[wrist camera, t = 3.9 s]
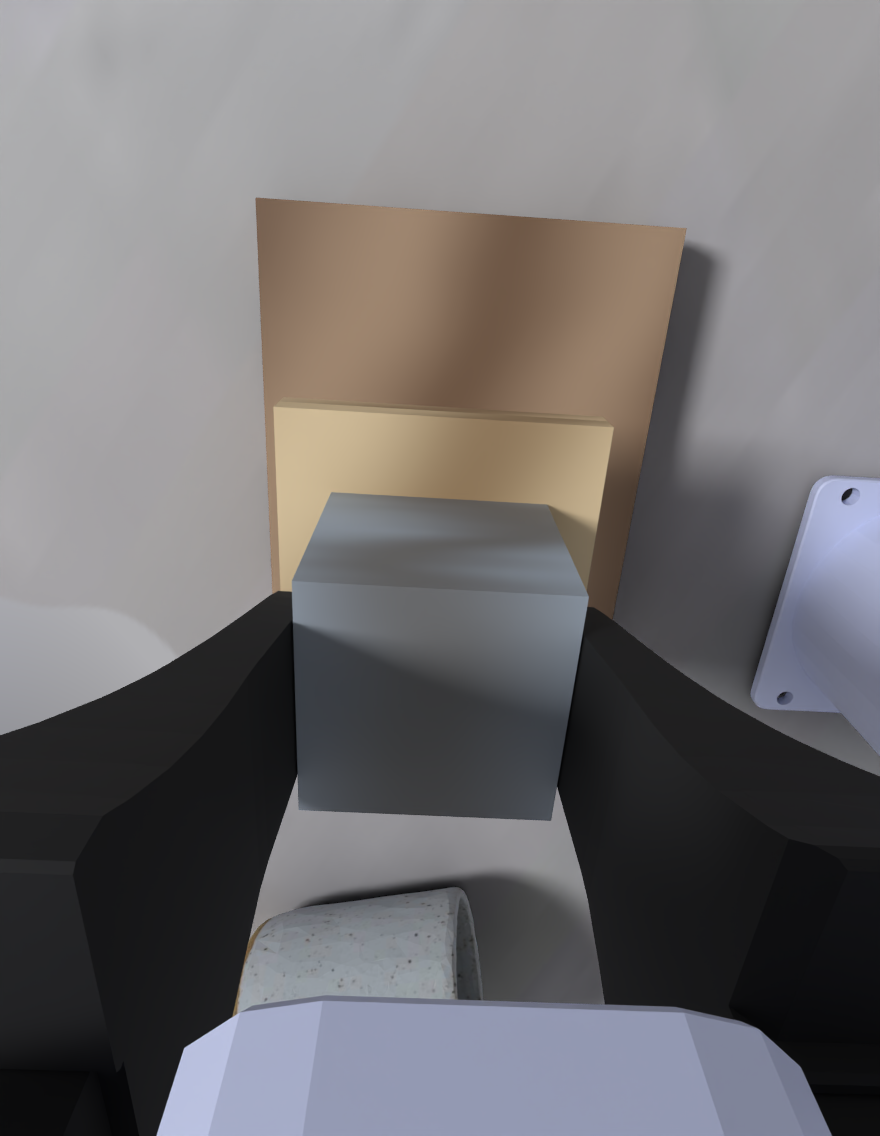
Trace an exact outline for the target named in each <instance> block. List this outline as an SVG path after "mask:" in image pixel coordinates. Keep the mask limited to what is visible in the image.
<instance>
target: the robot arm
mask: <svg viewBox="0 0 880 1136" xmlns="http://www.w3.org/2000/svg"><path fill="white" fill-rule="evenodd" d="M849 488H852V494H851V496H850V497H849V498H848V499H846V500H843V501H841V497H842V495H843V493H844V492H845V491H846V490H847V489H849ZM782 692H787V693H786V694H785V695H784V696H783V697H780V698H777V697H778V696H779V694H781V693H782ZM750 696H751V698H752V700H753V701H754V703H755V704H756V705H757V706H758V707H760V708H762V709H772V710H793V711H815V712H836V713H842V715H843V716H844V717H845V718H846V719H847V720H848V721H849V722H850V723H851V725H852V726H853V727H854V728H855V729H856V730H857V731H858V732H859V733H860V735H861V736H862V737H863V738H864V739H865V740H866V741H867V742H868V744H869V745H870V746H871V747H872V748H873V749H874V750H875V751H876V752H877V754H878V755H879V756H880V478H868V477H851V476H834V475H832V476H825V477H823V478H821V479H819V480H818V481H817V482H816V483H815V484H814V485H813V487H812V489H811V491H810V495H809V498H808V501H807V505H806V508H805V511H804V515H803V518H802V521H801V525H800V528H799V531H798V535H797V538H796V541H795V545H794V548H793V551H792V555H791V558H790V561H789V565H788V568H787V571H786V575H785V578H784V581H783V585H782V588H781V592H780V595H779V598H778V602H777V605H776V608H775V612H774V615H773V618H772V622H771V625H770V628H769V632H768V635H767V638H766V642H765V645H764V648H763V652H762V655H761V658H760V662H759V665H758V668H757V672H756V675H755V678H754V682H753V685H752V688H751V695H750ZM297 774H298V768H297V736H296V704H295V672H294V640H293V608H292V592H290V591H277V592H275V593H274V594H272V595H270V596H269V597H268V598H266V599H265V600H263V601H262V602H260V603H259V604H258V605H256V606H255V607H254V608H252V609H251V610H249V611H248V612H247V613H245V614H244V615H243V616H241V617H240V618H238V619H237V620H235V621H234V622H233V623H231V624H230V625H228V626H227V627H225V628H224V629H222V630H221V631H220V632H218V633H217V634H215V635H214V636H212V637H211V638H209V639H208V640H206V641H205V642H203V643H201V644H200V645H198V646H196V647H195V648H193V649H192V650H190V651H188V652H187V653H185V654H183V655H182V656H180V657H179V658H177V659H175V660H174V661H172V662H171V663H169V664H167V665H166V666H164V667H162V668H160V669H158V670H157V671H155V672H153V673H151V674H149V675H147V676H145V677H143V678H141V679H140V680H137V681H135V682H133V683H131V684H129V685H127V686H125V687H123V688H121V689H119V690H117V691H115V692H113V693H111V694H108V695H106V696H104V697H102V698H99V699H97V700H94V701H92V702H89V703H87V704H84V705H82V706H79V707H77V708H74V709H72V710H69V711H66V712H64V713H62V714H59V715H57V716H54V717H51V718H49V719H46V720H44V721H41V722H39V723H36V724H33V725H30V726H27V727H24V728H21V729H18V730H15V731H12V732H9V733H6V734H3V735H0V1136H880V776H877V775H875V774H872V773H870V772H867V771H865V770H862V769H860V768H857V767H855V766H853V765H850V764H848V763H845V762H843V761H841V760H838V759H836V758H834V757H832V756H830V755H827V754H825V753H823V752H821V751H819V750H816V749H814V748H812V747H810V746H808V745H805V744H803V743H801V742H799V741H797V740H795V739H793V738H791V737H789V736H787V735H785V734H783V733H781V732H779V731H777V730H775V729H773V728H771V727H769V726H767V725H766V724H764V723H762V722H760V721H758V720H757V719H755V718H753V717H751V716H749V715H748V714H746V713H744V712H742V711H740V710H739V709H737V708H735V707H733V706H732V705H730V704H728V703H727V702H725V701H723V700H722V699H720V698H719V697H717V696H715V695H714V694H712V693H711V692H709V691H708V690H706V689H705V688H703V687H702V686H700V685H699V684H697V683H696V682H694V681H693V680H691V679H690V678H688V677H687V676H685V675H684V674H683V673H681V672H680V671H678V670H677V669H676V668H674V667H673V666H671V665H670V664H669V663H667V662H666V661H665V660H663V659H662V658H661V657H659V656H658V655H657V654H655V653H654V652H653V651H651V650H650V649H649V648H647V647H646V646H645V645H644V644H642V643H641V642H640V641H638V640H637V639H636V638H635V637H633V636H632V635H631V634H630V633H628V632H627V631H626V630H624V629H623V628H622V627H621V626H619V625H618V624H617V623H615V622H614V621H613V620H612V619H610V618H609V617H608V616H606V615H605V614H603V613H602V612H601V611H599V610H597V609H596V608H594V607H587V611H586V617H585V623H584V629H583V635H582V641H581V647H580V653H579V658H578V664H577V670H576V676H575V682H574V688H573V694H572V700H571V706H570V712H569V717H568V723H567V729H566V735H565V741H564V747H563V753H562V759H561V765H560V771H559V777H558V782H557V787H558V791H559V795H560V798H561V802H562V805H563V809H564V812H565V816H566V819H567V823H568V826H569V830H570V833H571V837H572V841H573V844H574V848H575V851H576V855H577V858H578V862H579V865H580V869H581V872H582V876H583V881H584V885H585V889H586V894H587V898H588V903H589V909H590V914H591V920H592V926H593V932H594V938H595V944H596V949H597V955H598V961H599V968H600V974H601V981H602V987H603V994H604V1000H605V1005H603V1004H573V1003H543V1002H513V1001H483V1000H453V999H423V998H394V997H364V996H334V995H323V996H316V997H309V998H302V999H295V1000H288V1001H281V1002H274V1003H267V1004H260V1005H253V1006H251V1007H249V1008H247V1009H245V1010H243V1011H242V1012H240V1013H238V1014H237V1015H235V1016H233V1012H234V1007H235V1003H236V998H237V993H238V988H239V984H240V979H241V974H242V969H243V965H244V960H245V955H246V950H247V946H248V942H249V937H250V933H251V928H252V924H253V919H254V915H255V910H256V906H257V901H258V897H259V893H260V888H261V885H262V881H263V878H264V874H265V871H266V867H267V864H268V860H269V857H270V854H271V851H272V848H273V845H274V842H275V839H276V836H277V834H278V831H279V828H280V825H281V822H282V819H283V816H284V813H285V810H286V807H287V804H288V801H289V798H290V795H291V792H292V789H293V786H294V783H295V780H296V777H297Z"/></svg>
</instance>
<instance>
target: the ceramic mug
mask: <svg viewBox="0 0 880 1136" xmlns="http://www.w3.org/2000/svg"><path fill="white" fill-rule="evenodd" d="M323 995H334V996H364V997H394V998H423V999H453V1000H483V989H482V978H481V970H480V961H479V952H478V945H477V941H476V936H475V930H474V921H473V916H472V913H471V909H470V905H469V901H468V899H467V896H466V894H465V892H464V891H463V890H462V889H460V888H459V887H451V888H444V889H438V890H431V891H424V892H416V893H408V894H400V895H392V896H385V897H378V898H371V899H365V900H358V901H350V902H342V903H335V904H325V905H316V906H309V907H304V908H299V909H295V910H292V911H289V912H286V913H283V914H280V915H277V916H275V917H273V918H270V919H268V920H267V921H265V922H264V923H263V924H262V925H260V926H259V927H258V928H257V930H256V931H255V933H254V934H253V935H252V937H251V938H250V940H249V942H248V946H247V950H246V955H245V960H244V965H243V969H242V974H241V979H240V984H239V988H238V993H237V998H236V1003H235V1007H234V1012H233V1016H235V1015H237V1014H238V1013H240V1012H242V1011H243V1010H245V1009H247V1008H249V1007H251V1006H253V1005H260V1004H267V1003H274V1002H281V1001H288V1000H295V999H302V998H309V997H316V996H323ZM483 1001H484V1000H483Z"/></svg>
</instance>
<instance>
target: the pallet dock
mask: <svg viewBox="0 0 880 1136" xmlns="http://www.w3.org/2000/svg"><path fill="white" fill-rule="evenodd" d="M256 218H257V242H258V265H259V288H260V312H261V335H262V358H263V381H264V405H265V428H266V451H267V475H268V498H269V521H270V545H271V568H272V591H273V594H274V593H275V592H277V591H280V565H279V539H278V513H277V488H276V462H275V436H274V411H273V407H274V406H275V405H276V404H277V403H278V402H279V401H280V400H281V399H282V398H284V397H288V398H304V399H321V400H337V401H354V402H370V403H387V404H403V405H420V406H436V407H453V408H469V409H486V410H502V411H518V412H535V413H551V414H568V415H584V416H601V417H604V418H605V419H606V420H607V421H608V422H609V423H610V424H611V425H612V426H613V427H614V430H613V436H612V442H611V448H610V453H609V459H608V465H607V471H606V477H605V483H604V489H603V495H602V501H601V507H600V513H599V519H598V525H597V531H596V537H595V543H594V549H593V555H592V561H591V567H590V573H589V579H588V585H587V594H588V596H589V599H588V605H587V607H594V608H596V609H597V610H599V611H601V612H602V613H603V614H605V615H606V616H608V617H609V618H610V619H613V614H614V608H615V603H616V598H617V593H618V587H619V582H620V577H621V572H622V566H623V561H624V556H625V551H626V545H627V540H628V535H629V529H630V524H631V519H632V514H633V508H634V503H635V498H636V493H637V487H638V482H639V477H640V471H641V466H642V461H643V456H644V450H645V445H646V440H647V435H648V429H649V424H650V419H651V413H652V408H653V403H654V398H655V392H656V387H657V382H658V377H659V371H660V366H661V361H662V356H663V350H664V345H665V340H666V334H667V329H668V324H669V319H670V313H671V308H672V303H673V298H674V292H675V287H676V282H677V276H678V271H679V266H680V261H681V255H682V250H683V245H684V240H685V234H686V229H687V228H673V227H659V226H645V225H631V224H617V223H603V222H589V221H575V220H561V219H547V218H533V217H519V216H505V215H491V214H477V213H463V212H449V211H435V210H421V209H407V208H393V207H379V206H365V205H350V204H336V203H322V202H308V201H294V200H280V199H266V198H256Z"/></svg>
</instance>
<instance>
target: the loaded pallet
mask: <svg viewBox="0 0 880 1136" xmlns="http://www.w3.org/2000/svg"><path fill="white" fill-rule="evenodd" d="M273 411H274V436H275V462H276V488H277V513H278V539H279V565H280V591H290V592H292V608H293V640H294V672H295V704H296V736H297V768H298V800H299V810H310V811H334V812H358V813H382V814H405V815H429V816H453V817H476V818H500V819H524V820H547V821H551V818H552V812H553V806H554V800H555V794H556V788H557V782H558V777H559V771H560V765H561V759H562V753H563V747H564V741H565V735H566V729H567V723H568V717H569V712H570V706H571V700H572V694H573V688H574V682H575V676H576V670H577V664H578V658H579V653H580V647H581V641H582V635H583V629H584V623H585V617H586V611H587V605H588V599H589V596H588V594H587V585H588V579H589V573H590V567H591V561H592V555H593V549H594V543H595V537H596V531H597V525H598V519H599V513H600V507H601V501H602V495H603V489H604V483H605V477H606V471H607V465H608V459H609V453H610V448H611V442H612V436H613V430H614V427H613V426H612V425H611V424H610V423H609V422H608V421H607V420H606V419H605V418H604V417H601V416H584V415H568V414H551V413H535V412H518V411H502V410H486V409H469V408H453V407H436V406H420V405H403V404H387V403H370V402H354V401H337V400H321V399H304V398H288V397H284V398H282V399H281V400H280V401H279V402H278V403H277V404H276V405H275V406H274V407H273Z"/></svg>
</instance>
